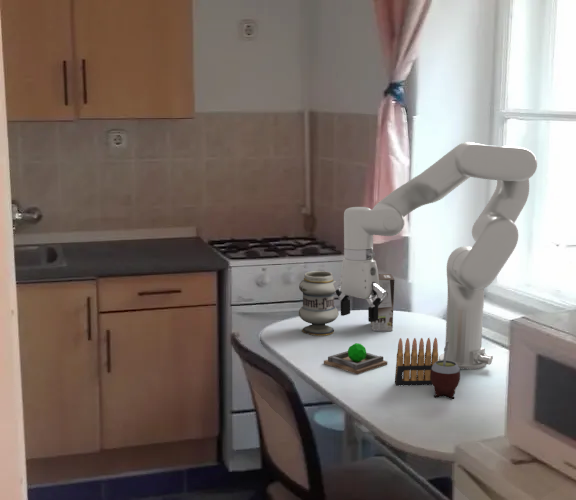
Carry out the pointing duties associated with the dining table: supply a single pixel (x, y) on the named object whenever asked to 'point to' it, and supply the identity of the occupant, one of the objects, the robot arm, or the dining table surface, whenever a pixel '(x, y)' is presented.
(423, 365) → the ammunition clip
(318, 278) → the apothecary jar
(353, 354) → the polyhedron
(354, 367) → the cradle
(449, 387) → the mate gourd
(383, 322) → the coffee box
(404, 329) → the dining table surface
